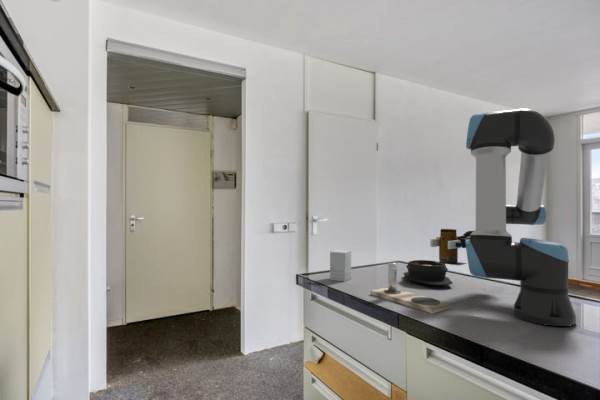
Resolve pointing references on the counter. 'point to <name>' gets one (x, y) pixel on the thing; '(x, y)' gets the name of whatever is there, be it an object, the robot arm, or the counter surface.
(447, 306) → the board
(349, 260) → the supplement box
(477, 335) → the counter surface
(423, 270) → the casserole
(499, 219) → the robot arm
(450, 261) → the condiment
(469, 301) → the counter surface
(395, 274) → the steel post
